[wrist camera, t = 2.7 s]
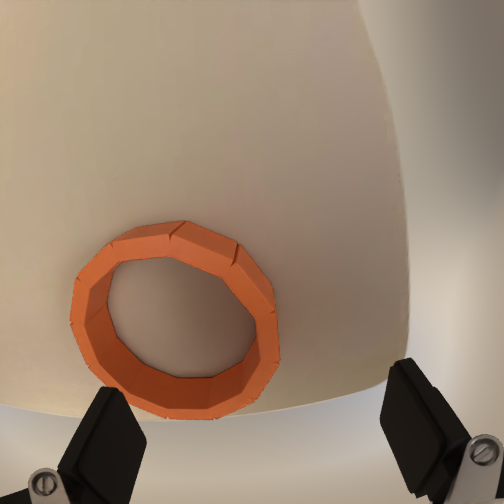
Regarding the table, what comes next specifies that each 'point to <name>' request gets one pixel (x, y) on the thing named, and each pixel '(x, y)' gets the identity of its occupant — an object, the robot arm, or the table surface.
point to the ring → (156, 382)
